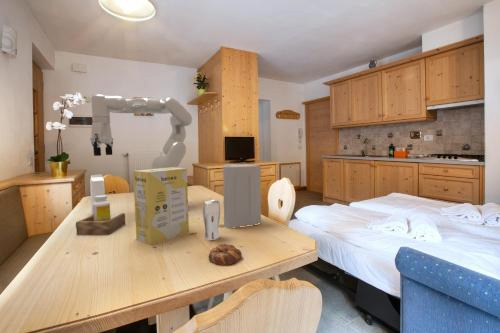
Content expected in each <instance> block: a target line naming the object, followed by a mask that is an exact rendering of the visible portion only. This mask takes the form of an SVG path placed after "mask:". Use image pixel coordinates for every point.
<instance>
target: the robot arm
mask: <svg viewBox="0 0 500 333" xmlns="http://www.w3.org/2000/svg"><path fill="white" fill-rule="evenodd" d="M90 100H91V101H90V102H91V103H90V104H91V116H92V123H91V134H90V135H91V136H90V138H89V140H90V142H91V145H92V148H93V156H94V157H96V156H97V157H101V156H102V152H101V151H102V149H101V145H103V144H104V145H105V146H106V147H104V148H105V155H106V156H112V155H113V144H114V138H113V137H112V129H111V113H113V114H158V115H163V114H164V115H165V114H171V116H170V118H169V122H170V126H171V128H172V129H171V130H172V131H171V133H170V135H169V137H168V139H166V142H165V143H164V145H163V148H162V152H163V154H164V155H159V156H156V157H155V158H153V159H152V161H151V169H159V168H170V167H175V168H179V165H180V164H181V163H182V161H183V159H184V157H185V156H186V153H187V145H186V144H185V143H184V141H185V139H186V136H187V131H186V127H188V126H190V125H191V124H192V121H193V118H192V115H191V113H190V112H189V111H188V110H187V109H186V107H184V106H183V105H182V104H181V103H180V102H179V101H178V100H176V98H174V97H171V96H168V97H166V98H165V97H164V98H157V97H156V98H155V97H138V98H131V99H130V98H129V99H126V98H124V97H123V96H119V95H105V94H92V95H91V98H90Z"/></svg>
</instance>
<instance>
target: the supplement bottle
mask: <svg viewBox="0 0 500 333" xmlns="http://www.w3.org/2000/svg"><path fill="white" fill-rule="evenodd" d="M107 198H108V195H106V194H105V195H99V196H95V200H96V202H94V203H93V214H92V215H94V221H108V220H110V219H112V217H111V205H110V201H109V200H107Z"/></svg>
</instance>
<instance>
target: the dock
mask: <svg viewBox="0 0 500 333" xmlns="http://www.w3.org/2000/svg"><path fill="white" fill-rule="evenodd" d="M75 226H76V227H75V229H76V236H77V235H78V236H80V235H81V236H87V235H88V236H98V235H99V236H102V235H104V236H109V235H111V234H112V233H114V232H116V231H117V230H120V229H121V228H122V227H124V226H126V213H120V214H118V215H116V216H115V217H111V219H110V220H108V221H94V215H93V214H92V215H90V216H89V215H88V216H87V217H84V218H83V219H80V220H78V221H76V222H75Z"/></svg>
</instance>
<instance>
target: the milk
mask: <svg viewBox="0 0 500 333" xmlns="http://www.w3.org/2000/svg"><path fill="white" fill-rule="evenodd" d="M105 187H106V186H105V179H104V176H103V174H100V173H98V174H91V175H90V179H89V190H90V191H89V192H90V206H91V214H92V215H93V203H94V202H96V200H95V196H99V195H106V189H105Z"/></svg>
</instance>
